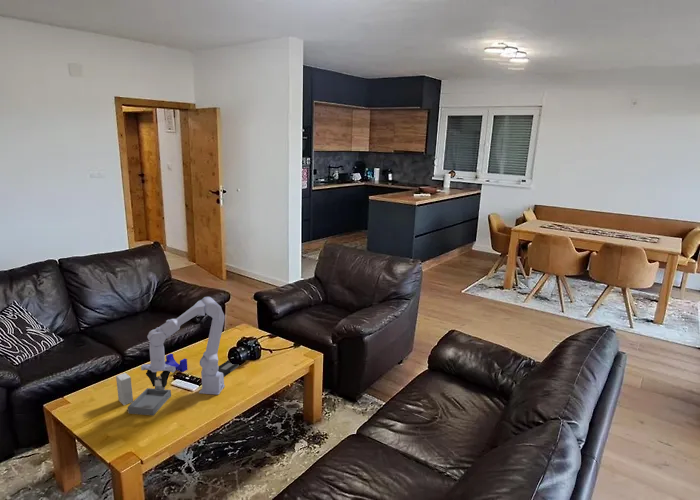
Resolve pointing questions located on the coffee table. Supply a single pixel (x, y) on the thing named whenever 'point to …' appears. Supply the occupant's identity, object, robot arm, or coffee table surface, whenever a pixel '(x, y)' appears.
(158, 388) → the cell
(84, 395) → the coffee table surface
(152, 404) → the grey tray
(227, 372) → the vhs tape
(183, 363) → the cable clip
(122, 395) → the skincare box
